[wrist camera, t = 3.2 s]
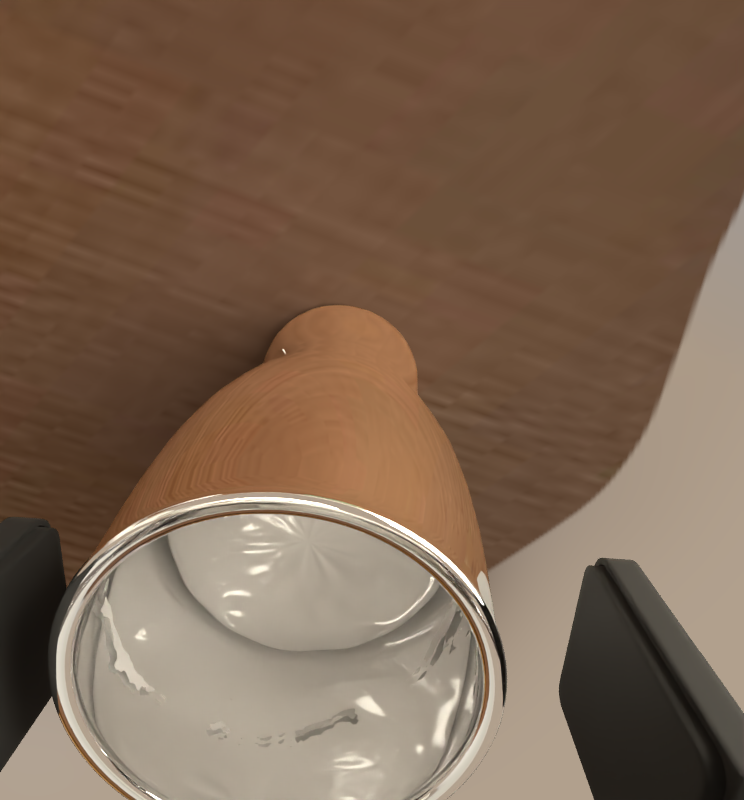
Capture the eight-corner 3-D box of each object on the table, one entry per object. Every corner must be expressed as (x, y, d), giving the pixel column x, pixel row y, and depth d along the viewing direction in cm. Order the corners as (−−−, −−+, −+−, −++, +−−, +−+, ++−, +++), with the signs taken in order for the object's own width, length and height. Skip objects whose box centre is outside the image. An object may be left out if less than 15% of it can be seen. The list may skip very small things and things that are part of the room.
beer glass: (441, 303, 21) (574, 509, 7) (415, 469, 23) (477, 877, 9) (255, 282, 21) (3, 451, 7) (248, 451, 23) (49, 843, 9)
